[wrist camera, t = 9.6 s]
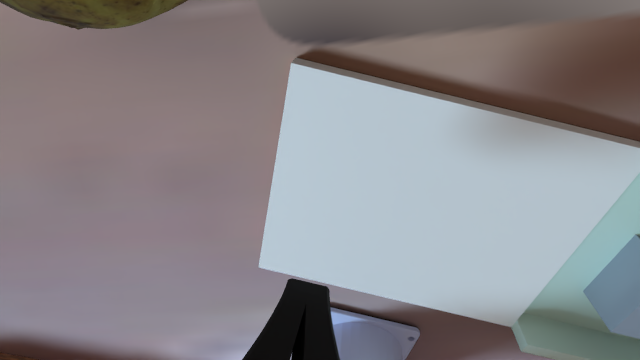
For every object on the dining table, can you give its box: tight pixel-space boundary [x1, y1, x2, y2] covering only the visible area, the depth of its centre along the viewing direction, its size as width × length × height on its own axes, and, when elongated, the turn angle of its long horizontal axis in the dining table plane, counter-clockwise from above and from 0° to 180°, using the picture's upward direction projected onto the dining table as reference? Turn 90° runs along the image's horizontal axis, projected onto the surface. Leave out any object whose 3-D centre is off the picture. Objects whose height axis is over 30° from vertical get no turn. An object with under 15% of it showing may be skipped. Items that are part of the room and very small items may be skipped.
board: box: [259, 58, 640, 327], centre depth 21 cm, size 14×18×1 cm
